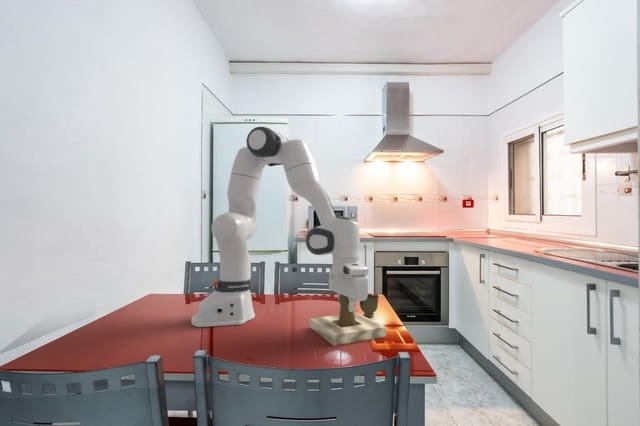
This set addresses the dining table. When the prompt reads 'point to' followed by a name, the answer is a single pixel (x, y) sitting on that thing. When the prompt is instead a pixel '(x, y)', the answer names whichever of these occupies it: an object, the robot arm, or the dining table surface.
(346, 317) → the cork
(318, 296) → the dining table surface
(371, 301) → the cup
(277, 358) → the dining table surface
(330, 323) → the socket board
